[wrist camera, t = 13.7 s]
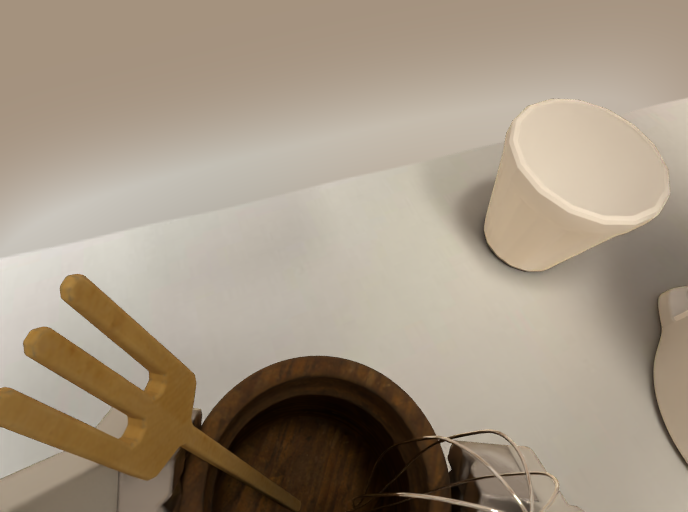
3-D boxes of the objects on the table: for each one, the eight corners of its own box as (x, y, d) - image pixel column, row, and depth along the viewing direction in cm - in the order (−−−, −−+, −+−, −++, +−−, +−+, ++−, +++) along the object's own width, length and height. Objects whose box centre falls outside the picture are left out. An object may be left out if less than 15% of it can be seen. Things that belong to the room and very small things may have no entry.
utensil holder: (376, 658, 13) (755, 1104, 3) (157, 591, 13) (-271, 776, 3) (412, 438, 16) (652, 259, 6) (235, 386, 16) (165, 123, 6)
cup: (609, 283, 35) (707, 209, 27) (490, 309, 33) (561, 237, 25) (546, 179, 40) (614, 90, 32) (438, 195, 37) (483, 103, 29)
